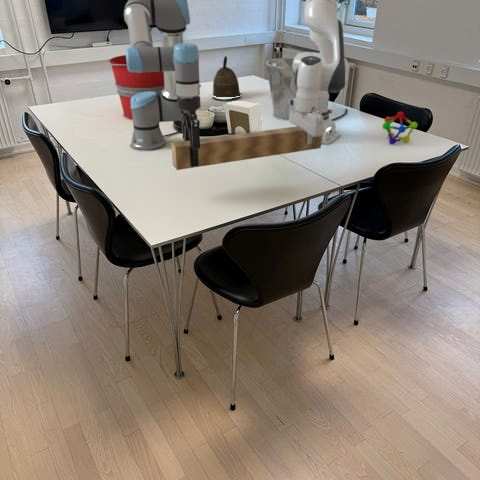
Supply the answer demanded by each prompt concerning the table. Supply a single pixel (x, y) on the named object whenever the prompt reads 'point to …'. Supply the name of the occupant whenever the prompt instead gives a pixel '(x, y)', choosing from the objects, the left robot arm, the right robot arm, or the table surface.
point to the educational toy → (398, 128)
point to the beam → (244, 146)
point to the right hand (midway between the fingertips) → (304, 140)
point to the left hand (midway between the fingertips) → (192, 163)
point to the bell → (225, 82)
